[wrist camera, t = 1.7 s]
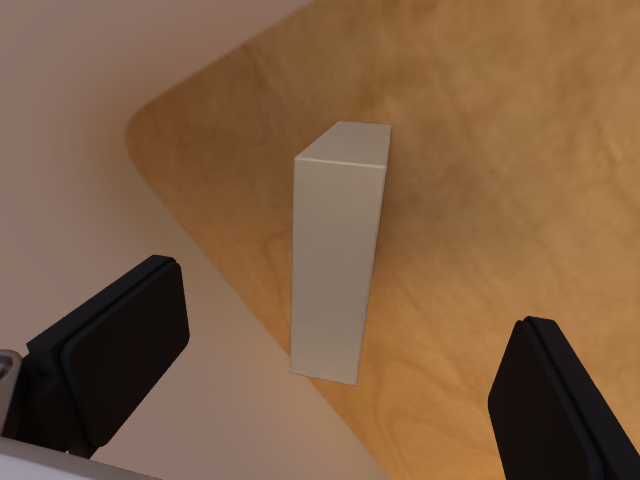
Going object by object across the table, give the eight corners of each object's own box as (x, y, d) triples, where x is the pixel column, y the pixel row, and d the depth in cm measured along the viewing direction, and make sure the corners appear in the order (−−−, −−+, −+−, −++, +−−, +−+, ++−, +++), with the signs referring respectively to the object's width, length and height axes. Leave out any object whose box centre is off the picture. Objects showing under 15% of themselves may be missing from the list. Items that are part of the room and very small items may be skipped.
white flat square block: (327, 267, 20) (289, 373, 13) (338, 120, 16) (293, 156, 9) (371, 273, 20) (356, 387, 13) (392, 124, 16) (387, 166, 9)
